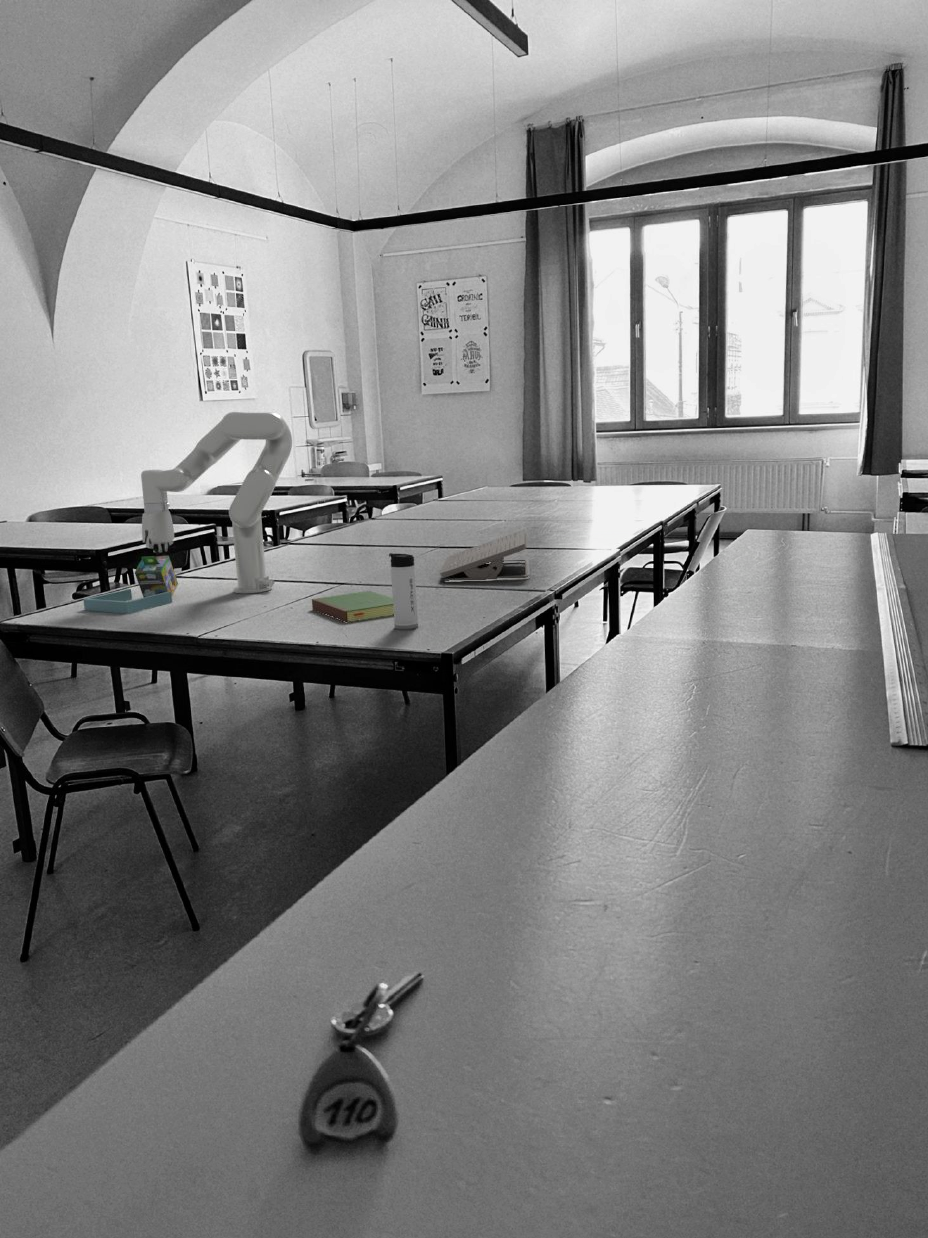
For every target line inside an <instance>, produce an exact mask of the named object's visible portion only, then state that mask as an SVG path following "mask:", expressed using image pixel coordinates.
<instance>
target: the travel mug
mask: <svg viewBox="0 0 928 1238" xmlns="http://www.w3.org/2000/svg"><path fill="white" fill-rule="evenodd" d="M388 557H389V558H390V568H391V569H390V575H391V576H390V577H391V589H392V598H393V609H394V615H393V621H394V625H393V626H394V629H396V630H399V631H402V630H403V631H406V630H413V628H414V629H417V628H418V627H419V620H418V619H419V617H418V603H417V602H418V601H417V599H418V598H417V583H416V569H415V556H414V555H412V554H410V553H409V554H407V553H393V552H392V553H391V552H390V553H389V554H388Z"/></svg>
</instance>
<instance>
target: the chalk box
mask: <svg viewBox="0 0 928 1238" xmlns="http://www.w3.org/2000/svg"><path fill="white" fill-rule="evenodd" d="M134 575H135V578H136V581H137V584H138V587H139V588H140V591H141V595H142V598H144V597H148V596H152V595H156V594H160V593H164V592H171V595H172V596H173V595H174V593H175V592H176V590H177V587H178V585H179V582H178V579H177V576H176V573H175V570H174V567H173V565H172V561H171V559H170V556H169V555H166V556H156V555H155V556H154V555H151V556H141V560H140V561H139V562H138V564H137V567H136V569H135V571H134Z"/></svg>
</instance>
